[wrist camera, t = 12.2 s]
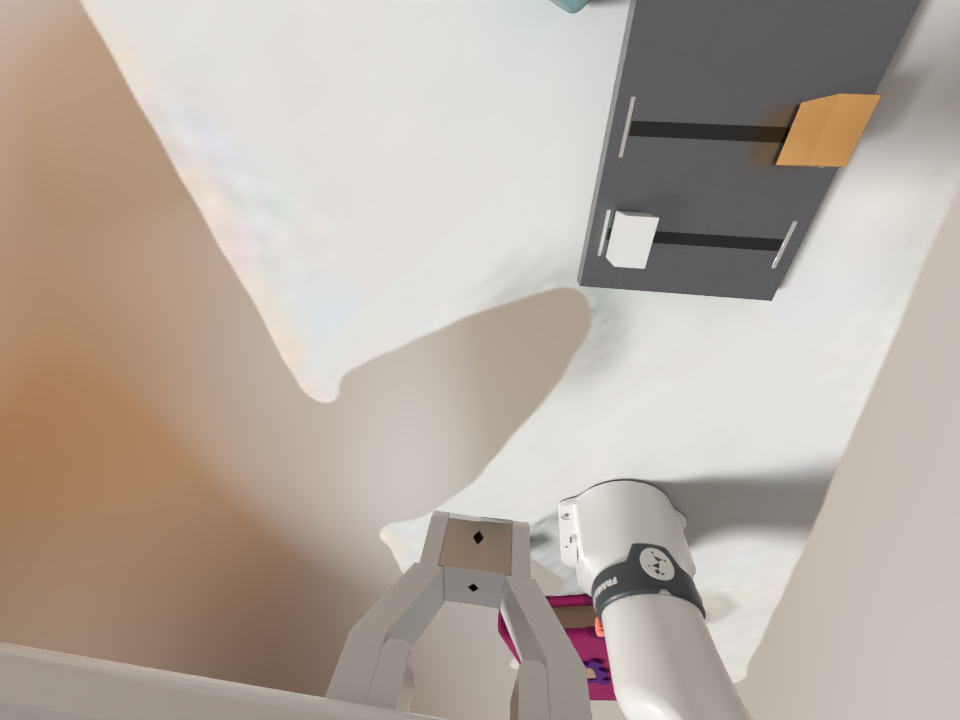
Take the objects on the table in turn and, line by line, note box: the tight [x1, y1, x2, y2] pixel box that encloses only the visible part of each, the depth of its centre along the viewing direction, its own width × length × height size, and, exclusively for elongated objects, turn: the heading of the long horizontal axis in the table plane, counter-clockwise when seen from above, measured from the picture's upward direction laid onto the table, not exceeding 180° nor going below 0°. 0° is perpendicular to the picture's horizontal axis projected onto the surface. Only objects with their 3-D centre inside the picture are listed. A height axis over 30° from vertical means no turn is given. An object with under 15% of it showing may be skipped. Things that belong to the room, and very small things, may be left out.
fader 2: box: [776, 94, 881, 167], centre depth 24 cm, size 4×2×4 cm, turn 177°
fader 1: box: [606, 211, 659, 269], centre depth 29 cm, size 4×2×4 cm, turn 177°
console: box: [577, 0, 921, 301], centre depth 28 cm, size 22×18×2 cm
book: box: [498, 594, 617, 700], centre depth 69 cm, size 21×28×8 cm
